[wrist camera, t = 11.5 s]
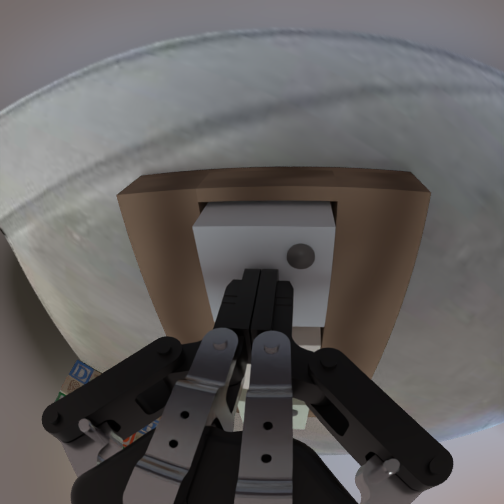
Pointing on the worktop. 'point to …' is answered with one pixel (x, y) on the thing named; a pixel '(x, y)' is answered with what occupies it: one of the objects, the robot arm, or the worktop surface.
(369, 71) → the worktop surface
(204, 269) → the key
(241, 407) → the key
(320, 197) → the key panel
